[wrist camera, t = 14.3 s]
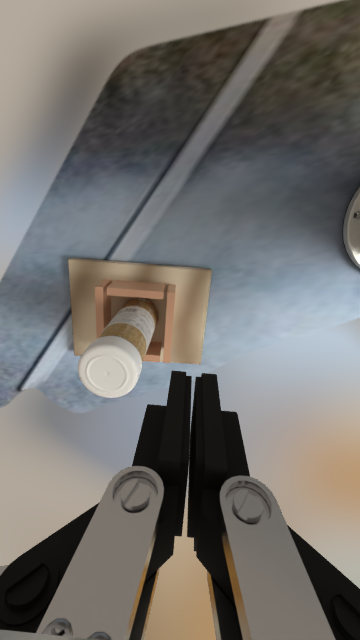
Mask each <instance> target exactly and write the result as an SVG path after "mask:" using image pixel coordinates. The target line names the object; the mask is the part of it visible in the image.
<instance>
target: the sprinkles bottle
mask: <svg viewBox="0 0 360 640" xmlns="http://www.w3.org/2000/svg"><path fill="white" fill-rule="evenodd" d="M158 320H159V314H158V310H157V308H156V306H155V305H154V304H153V303H152V302H151V301H149V300H147V299H145V298H133V299H131V300H129V301H127V302H126V303H125V305H124V306H123V307H122V309H121V310H120V311H119V312H118V313H117V314H116V315H115V317H114V318H113V319H112V320H111V321H110V323H109V324H108V325H107V326H106V328H105V329H104V330H103V331H102V333H101V335H100V336H99V338H98V339H96V340H95V341H93V342H92V343H91V344H90V345H89V346H88V348H87V349H86V350H85V351H84V353H83V354H82V356H81V357H80V360H79V363H78V373H79V377H80V379H81V381H82V383H83V384H84V385H85V387H86V388H87V389H89V390H90V391H91V392H93V393H94V394H96V395H99V396H102V397H107V398H115V397H120V396H123V395H125V394H127V393H128V392H130V391H131V390H132V389H133V388H134V386H135V385H136V383H137V380H138V378H139V375H140V372H141V369H142V361H143V358H144V356H145V354H146V352H147V349H148V346H149V344H150V341H151V338H152V336H153V333H154V329H155V327H156V325H157V323H158Z"/></svg>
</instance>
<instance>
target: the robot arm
mask: <svg viewBox="0 0 360 640" xmlns="http://www.w3.org/2000/svg"><path fill="white" fill-rule="evenodd" d="M354 213H355V216H354ZM343 237H344V244H345V247H346V251H347V253H348V255H349V257H350V259H351V260H352V261H353V262H354V263H355V265H356V266H357V267H359V268H360V187H359V188H358V190H357V191H356V193H355V194H354V196H353V198H352V200H351V202H350V204H349V206H348V209H347V212H346V215H345V220H344V227H343ZM191 378H192V376H186V372H181V371H172V373H171V380H170V387H169V393H168V400H167V406H161V405H149V404H148V405H147V408H146V412H145V417H144V420H143V424H142V428H141V432H140V436H139V440H138V444H137V448H136V452H135V456H134V460H133V464H132V467H128V468H126V469H124V470H122V471H120V472H119V473H118V474H116V475H115V476H114V477H113V479H112V480H111V481H110V483H109V485H108V487H107V489H106V491H105V493H104V495H103V497H102V499H101V501H100V502H99V503H98V504H97V505H95V506H94V507H92V508H91V509H89V510H88V511H86V512H85V513H83V514H82V515H80V516H79V517H77V518H76V519H74V520H73V521H71V522H70V523H68V524H67V525H65V526H64V527H62V528H61V529H60V530H58V531H57V532H55V533H53V534H52V535H51V536H49V537H48V538H46V539H45V540H43V541H42V542H40V543H39V544H37V545H36V546H34V547H33V548H31V549H30V550H29V551H27V552H25V553H24V554H22V555H21V556H19V557H18V558H17V559H16V560H15V561H13V562H12V563H11V564H10V565H6V566H0V640H144V636H145V631H146V627H147V623H148V619H149V614H150V610H151V605H152V601H153V597H154V592H155V588H156V584H157V579H158V575H159V568H160V567H161V566H162V565H163V564H164V563H165V562H166V561H167V560H168V559H169V558H170V557H171V556H172V555H173V549H174V537H175V536H182V527H183V517H184V507H185V497H186V487H187V477H188V467H189V490H188V491H189V492H188V526H187V528H188V529H187V537H192V538H194V551H197V558H198V559H199V561H200V562H201V563H202V564H203V566H204V567H205V568H206V569H207V580H208V587H209V594H210V600H211V607H212V614H213V620H214V627H215V634H216V640H360V589H359V588H358V587H357V586H356V585H355V584H353V583H352V582H351V581H350V580H349V579H348V578H347V577H346V576H344V575H343V574H342V573H341V572H340V571H339V570H337V568H335V567H334V566H333V565H332V564H331V563H330V562H329V561H327V560H326V559H325V558H324V557H323V556H322V555H321V554H319V553H318V552H317V551H316V550H315V549H314V548H313V547H312V546H310V545H309V544H308V543H307V542H306V541H305V540H304V539H302V538H301V537H300V536H299V535H298V534H297V533H296V532H294V531H293V530H292V529H291V528H290V527H289V526H288V525H287V524H286V522H285V520H284V517H283V515H282V512H281V510H280V508H279V505H278V503H277V501H276V499H275V497H274V495H273V494H272V492H271V491H270V490H269V489H268V487H266V485H265V484H263V483H262V482H260V481H258V480H257V479H254V478H252V477H250V474H249V469H248V464H247V460H246V455H245V450H244V445H243V440H242V435H241V430H240V425H239V420H238V415H237V413H236V412H229V411H221V407H220V399H219V391H218V382H217V375H216V374H205V373H202V375H201V377H196V381H195V391H194V402H193V411H192V421H191V432H190V413H191ZM189 447H190V454H189Z"/></svg>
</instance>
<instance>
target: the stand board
mask: <svg viewBox="0 0 360 640" xmlns="http://www.w3.org/2000/svg"><path fill="white" fill-rule="evenodd" d="M68 263H69V279H70V294H71V310H72V325H73V341H74V355H77V356H82V354H83V353H84V351H85V350H86V349H87V348H88V346H89V345H90V344H91V343H92V342H93V341H95V340H96V339H97V335H96V303H95V286H96V285H97V284H99V283H100V282H101V281H102V280H103V279H110V280H111V283H112V282H113V281H114V280H122V281H135V282H148V283H161V284H165V293H164V298H163V299H151V298H145V299H147V300H149V301H151V302H152V303H153V304H154V305H155V306H156V308H157V310H158V314H159V320H158V323H157V325H156V327H155V329H154V333H153V336H152V338H151V342H162V348H161V355H160V361H161V362H163V354H164V339H165V324H166V308H167V293H168V287H169V284H173V285H176V291H175V304H174V317H173V330H172V344H171V357H170V362H175V363H189V364H201V356H202V348H203V340H204V332H205V323H206V315H207V307H208V298H209V290H210V282H211V274H212V270H211V269H206V268H193V267H181V266H168V265H156V264H143V263H131V262H118V261H106V260H94V259H81V258H70V259H68ZM133 298H138V297H125V296H112V295H111V320H112V319H113V318H114V317H115V315H116V314H117V313H118V312H119V311H120V310H121V309H122V307H123V306H124V305H125V303H126V302H127V301H129V300H131V299H133Z"/></svg>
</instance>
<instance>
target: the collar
mask: <svg viewBox="0 0 360 640" xmlns="http://www.w3.org/2000/svg"><path fill="white" fill-rule="evenodd" d="M175 291H176V285H173V284H169V287H168V293H167V308H166V324H165V339H164V354H163V362H165V363H170V357H171V344H172V330H173V317H174V304H175ZM164 293H165V284H161V283H148V282H135V281H122V280H114V281H113V282H112V283H111V280H110V279H103V280H102V281H101V282H100V283H99V284H97V285H96V286H95V303H96V335H97V339H98V338H99V336H100V335H101V333H102V331H103V330H104V329H105V328H106V326H107V325H108V324H109V323H110V321H111V295H112V296H125V297H138V298H151V299H163V298H164ZM161 348H162V342H151V341H150V344H149V346H148V349H147V352H146V354H145V356H144V358H143V361H151V362H160V355H161Z"/></svg>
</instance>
